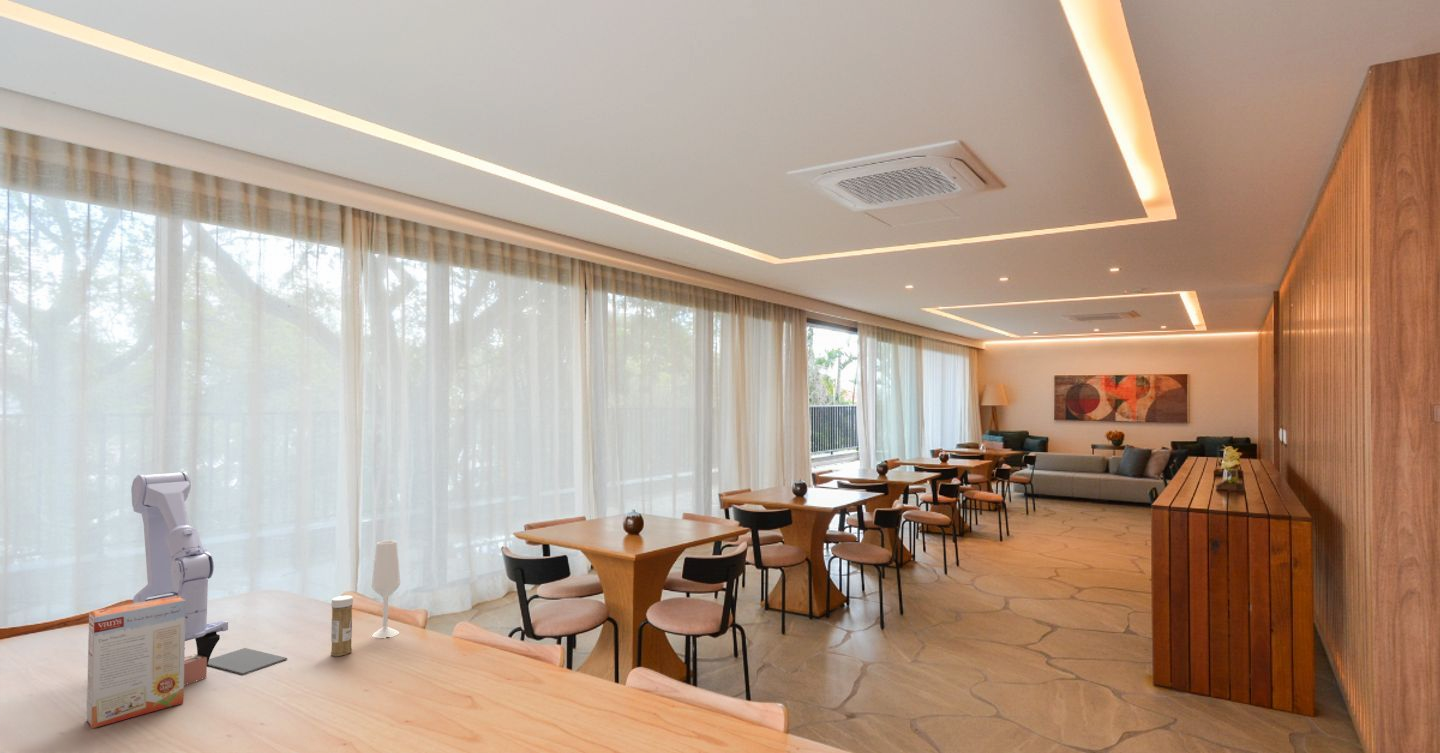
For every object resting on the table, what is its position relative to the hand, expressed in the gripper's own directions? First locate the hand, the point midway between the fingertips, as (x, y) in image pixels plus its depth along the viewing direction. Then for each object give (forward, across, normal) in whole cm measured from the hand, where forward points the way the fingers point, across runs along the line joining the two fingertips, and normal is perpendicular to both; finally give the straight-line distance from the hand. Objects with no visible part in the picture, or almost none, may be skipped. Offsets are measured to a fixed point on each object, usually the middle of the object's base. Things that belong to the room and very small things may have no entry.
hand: (189, 673), depth 149 cm
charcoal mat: (+1, +12, 0) cm, 12 cm away
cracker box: (+2, -14, -8) cm, 16 cm away
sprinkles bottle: (+2, +24, -16) cm, 29 cm away
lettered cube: (+1, 0, 0) cm, 1 cm away
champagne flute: (+2, +38, -14) cm, 41 cm away
